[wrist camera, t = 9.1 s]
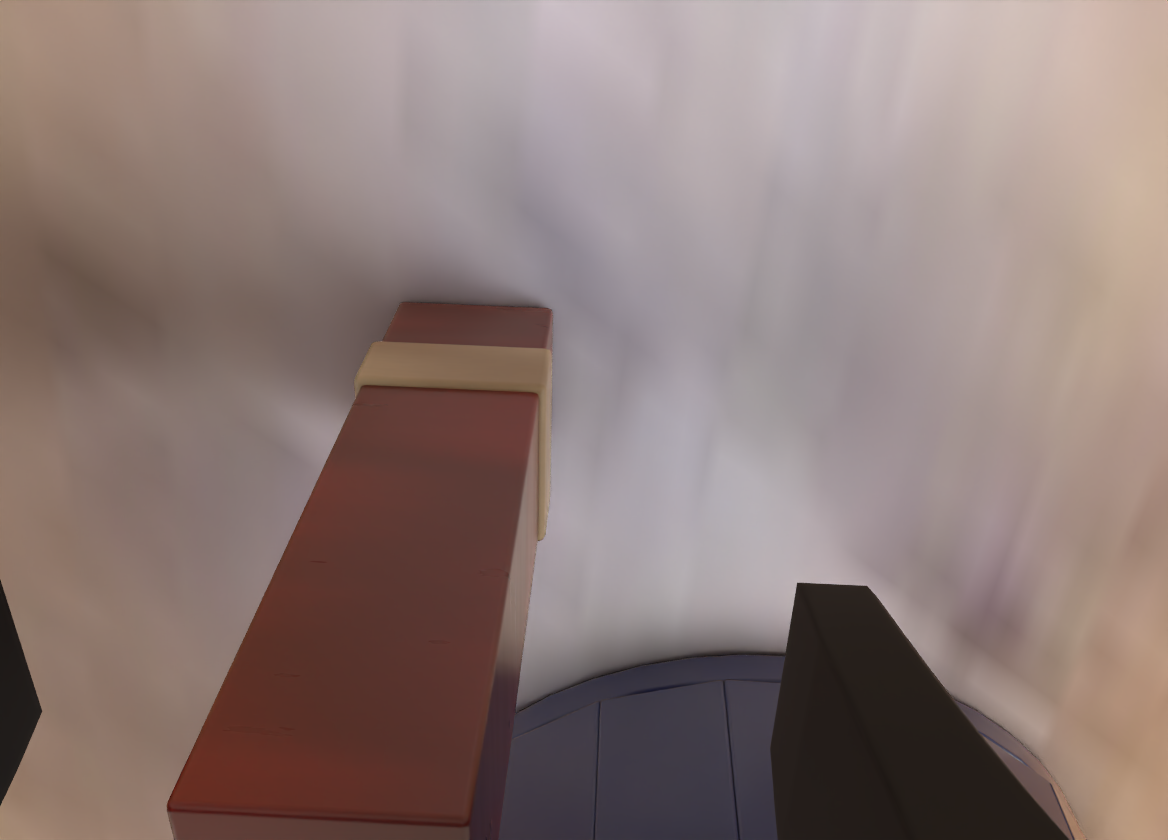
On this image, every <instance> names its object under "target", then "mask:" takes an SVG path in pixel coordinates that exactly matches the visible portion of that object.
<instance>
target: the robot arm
mask: <svg viewBox="0 0 1168 840" xmlns="http://www.w3.org/2000/svg"><path fill="white" fill-rule="evenodd" d="M41 713H42V709H41V706H40V703H39V700H38V697H37V694H36V690H35V687H34V684H33V681H32V678H31V675H30V672H29V669H28V665H27V662H26V659H25V656H24V653H23V650H22V647H21V643H20V640H19V637H18V634H17V631H16V628H15V625H14V621H13V618H12V615H11V612H10V609H9V606H8V603H7V600H6V596H5V593H4V590H3V587H2V584H1V581H0V805H1V803H2V801H3V799H4V797H5V795H6V793H7V791H8V788H9V786H10V784H11V782H12V780H13V778H14V776H15V774H16V771H17V769H18V767H19V765H20V762H21V760H22V758H23V755H24V753H25V751H26V748H27V746H28V744H29V741H30V739H31V737H32V734H33V732H34V729H35V727H36V725H37V722H38V720H39V718H40V715H41ZM770 753H771V766H772V779H773V792H774V805H775V816H776V827H777V838H778V840H1070V839H1069V838H1068V837H1067V836H1066V835H1065V833H1064V832H1063V831H1062V830H1061V829H1060V828H1059V827H1058V826H1057V824H1056V823H1055V822H1054V821H1053V820H1052V819H1051V817H1050V816H1049V815H1048V814H1047V813H1046V812H1045V811H1044V809H1043V808H1042V807H1041V806H1040V805H1039V804H1038V802H1037V801H1036V800H1035V799H1034V798H1033V797H1032V796H1031V794H1030V793H1029V792H1028V791H1027V790H1026V788H1025V787H1024V786H1023V785H1022V784H1021V782H1020V781H1019V780H1018V779H1017V778H1016V776H1015V775H1014V774H1013V773H1012V771H1011V770H1010V769H1009V768H1008V767H1007V765H1006V764H1005V763H1004V762H1003V761H1002V759H1001V758H1000V757H999V756H998V755H997V753H996V752H995V751H994V750H993V748H992V747H991V746H990V745H989V744H988V742H987V741H986V740H985V739H984V738H983V736H982V735H981V734H980V733H979V731H978V730H977V729H976V728H975V726H974V725H973V724H972V723H971V721H970V720H969V719H968V718H967V716H966V715H965V714H964V713H963V711H962V710H961V709H960V707H959V706H958V705H957V704H956V702H955V701H954V700H953V698H952V697H951V696H950V695H949V693H948V692H947V691H946V689H945V688H944V687H943V685H942V684H941V683H940V681H939V680H938V679H937V677H936V676H935V675H934V674H933V672H932V671H931V670H930V668H929V667H928V666H927V664H926V663H925V662H924V660H923V659H922V658H921V656H920V655H919V654H918V652H917V651H916V650H915V648H914V647H913V646H912V644H911V643H910V641H909V640H908V639H907V637H906V636H905V635H904V633H903V632H902V631H901V629H900V628H899V626H898V625H897V624H896V622H895V621H894V620H893V618H892V617H891V616H890V614H889V613H888V611H887V610H886V609H885V607H884V606H883V605H882V603H881V602H880V601H879V599H878V598H877V597H876V595H875V594H874V593H873V592H872V591H871V590H870V589H869V588H868V586H855V585H834V584H813V583H797V588H796V594H795V600H794V606H793V612H792V618H791V624H790V631H789V637H788V643H787V649H786V655H785V661H784V667H783V673H782V679H781V685H780V691H779V697H778V703H777V709H776V715H775V721H774V728H773V734H772V740H771V746H770Z"/></svg>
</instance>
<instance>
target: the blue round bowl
mask: <svg viewBox="0 0 1168 840" xmlns="http://www.w3.org/2000/svg"><path fill="white" fill-rule="evenodd" d="M784 661H785V656H777V655H748V654H739V655H723V656H707V657H691V658H684V659H678V660H672V661H666V662H660V663H654V664H648V665H642V666H637V667H634V668H630V669H626V670H623V671H619V672H615V673H611V674H608V675H604V676H600V677H597V678H593V679H590V680H588V681H585V682H583V683H580V684H578V685H575V686H572V687H570V688H567V689H565V690H562V691H560V692H557V693H554V694H552V695H549V696H548V697H546V698H544V699H542V700H540V701H538V702H536V703H534V704H533V705H531V706H529V707H527V708H525V709H523V710H521V711H519V712H517V713H516V714H515V716H514V723H513V731H512V739H511V746H510V754H509V761H508V769H507V776H506V784H505V792H504V799H503V807H502V814H501V822H500V830H499V837H498V840H778V838H777V827H776V816H775V805H774V792H773V779H772V766H771V753H770V746H771V740H772V734H773V728H774V721H775V715H776V709H777V703H778V697H779V691H780V685H781V679H782V673H783V667H784ZM953 700H954V699H953ZM954 701H955V702H956V704H957V705H958V706H959V707H960V709H961V710H962V711H963V713H964V714H965V715H966V716H967V718H968V719H969V720H970V721H971V723H972V724H973V725H974V726H975V728H976V729H977V730H978V731H979V733H980V734H981V735H982V736H983V738H984V739H985V740H986V741H987V742H988V744H989V745H990V746H991V747H992V748H993V750H994V751H995V752H996V753H997V755H998V756H999V757H1000V758H1001V759H1002V761H1003V762H1004V763H1005V764H1006V765H1007V767H1008V768H1009V769H1010V770H1011V771H1012V773H1013V774H1014V775H1015V776H1016V778H1017V779H1018V780H1019V781H1020V782H1021V784H1022V785H1023V786H1024V787H1025V788H1026V790H1027V791H1028V792H1029V793H1030V794H1031V796H1032V797H1033V798H1034V799H1035V800H1036V801H1037V802H1038V804H1039V805H1040V806H1041V807H1042V808H1043V809H1044V811H1045V812H1046V813H1047V814H1048V815H1049V816H1050V817H1051V819H1052V820H1053V821H1054V822H1055V823H1056V824H1057V826H1058V827H1059V828H1060V829H1061V830H1062V831H1063V832H1064V833H1065V835H1066V836H1067V837H1068V838H1069V839H1070V840H1087V839H1086V837H1085V836H1084V834H1083V833H1082V831H1081V829H1080V827H1079V825H1078V823H1077V820H1076V818H1075V816H1074V814H1073V812H1072V810H1071V808H1070V806H1069V804H1068V802H1067V800H1066V798H1065V796H1064V794H1063V792H1062V790H1061V788H1060V787H1059V786H1058V784H1057V783H1056V782H1055V781H1054V779H1053V778H1052V777H1051V775H1050V774H1049V773H1048V771H1047V770H1046V769H1045V767H1044V766H1043V765H1042V763H1041V762H1040V761H1039V760H1038V759H1037V758H1036V757H1035V756H1034V755H1033V754H1032V753H1030V752H1029V751H1028V750H1027V749H1026V748H1025V747H1024V746H1023V745H1022V744H1021V743H1020V742H1019V741H1018V740H1016V739H1015V738H1014V737H1013V736H1012V735H1011V734H1010V733H1008V732H1007V731H1005V730H1004V729H1002V728H1001V727H1000V726H998V725H997V724H995V723H994V722H992V721H991V720H989V719H988V718H986V717H985V716H984V715H982V714H981V713H979V712H978V711H976V710H974V709H972V708H970V707H968V706H966V705H964V704H962V703H960V702H958V701H956V700H954Z"/></svg>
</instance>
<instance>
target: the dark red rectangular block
mask: <svg viewBox="0 0 1168 840" xmlns="http://www.w3.org/2000/svg"><path fill="white" fill-rule="evenodd" d="M552 343H553V312H552V310H551V309H549V308H529V307H506V306H482V305H459V304H436V303H412V302H402V303H400V304H399V306H398V308H397V311H396V313H395V315H394V317H393V319H392V321H391V323H390V326H389V328H388V330H387V332H386V334H385V336H384V339H383V341H377V342H373V343H372V344H371V346H370V348H369V350H368V352H367V354H366V356H365V358H364V360H363V362H362V364H361V366H360V369H359V371H358V373H357V375H356V377H355V380H354V387H355V398H356V399H355V401H354V403H353V405H352V407H351V409H350V412H349V414H348V416H347V418H346V420H345V422H344V424H343V427H342V429H341V431H340V433H339V435H338V437H337V439H336V442H335V444H334V446H333V448H332V450H331V452H330V454H329V457H328V459H327V461H326V463H325V465H324V467H323V470H322V472H321V474H320V476H319V478H318V480H317V482H316V485H315V487H314V489H313V491H312V493H311V495H310V497H309V500H308V502H307V504H306V506H305V508H304V510H303V512H302V515H301V517H300V519H299V521H298V523H297V525H296V527H295V530H294V532H293V534H292V536H291V538H290V540H289V543H288V545H287V547H286V549H285V551H284V553H283V555H282V558H281V560H280V562H279V564H278V566H277V568H276V570H275V573H274V575H273V577H272V579H271V581H270V583H269V585H268V588H267V590H266V592H265V594H264V596H263V598H262V601H261V603H260V605H259V607H258V609H257V611H256V613H255V616H254V618H253V620H252V622H251V624H250V626H249V628H248V631H247V633H246V635H245V637H244V639H243V641H242V643H241V646H240V648H239V650H238V652H237V654H236V656H235V658H234V661H233V663H232V665H231V667H230V669H229V671H228V674H227V676H226V678H225V680H224V682H223V684H222V686H221V689H220V691H219V693H218V695H217V697H216V699H215V701H214V704H213V706H212V708H211V710H210V712H209V714H208V716H207V719H206V721H205V723H204V725H203V727H202V729H201V732H200V734H199V736H198V738H197V740H196V742H195V744H194V747H193V749H192V751H191V753H190V755H189V757H188V759H187V762H186V764H185V766H184V768H183V770H182V772H181V774H180V777H179V779H178V781H177V783H176V785H175V787H174V789H173V792H172V794H171V796H170V798H169V800H168V803H167V813H168V817H169V821H170V825H171V829H172V832H173V836H174V840H498V837H499V830H500V822H501V814H502V807H503V799H504V792H505V784H506V776H507V769H508V761H509V754H510V746H511V739H512V731H513V723H514V716H515V708H516V701H517V693H518V685H519V678H520V670H521V663H522V655H523V647H524V640H525V632H526V625H527V617H528V609H529V602H530V594H531V587H532V579H533V571H534V564H535V556H536V549H537V541H540V540H543V538H544V536H545V535H546V527H547V518H548V510H549V502H550V483H551V414H552Z"/></svg>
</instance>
